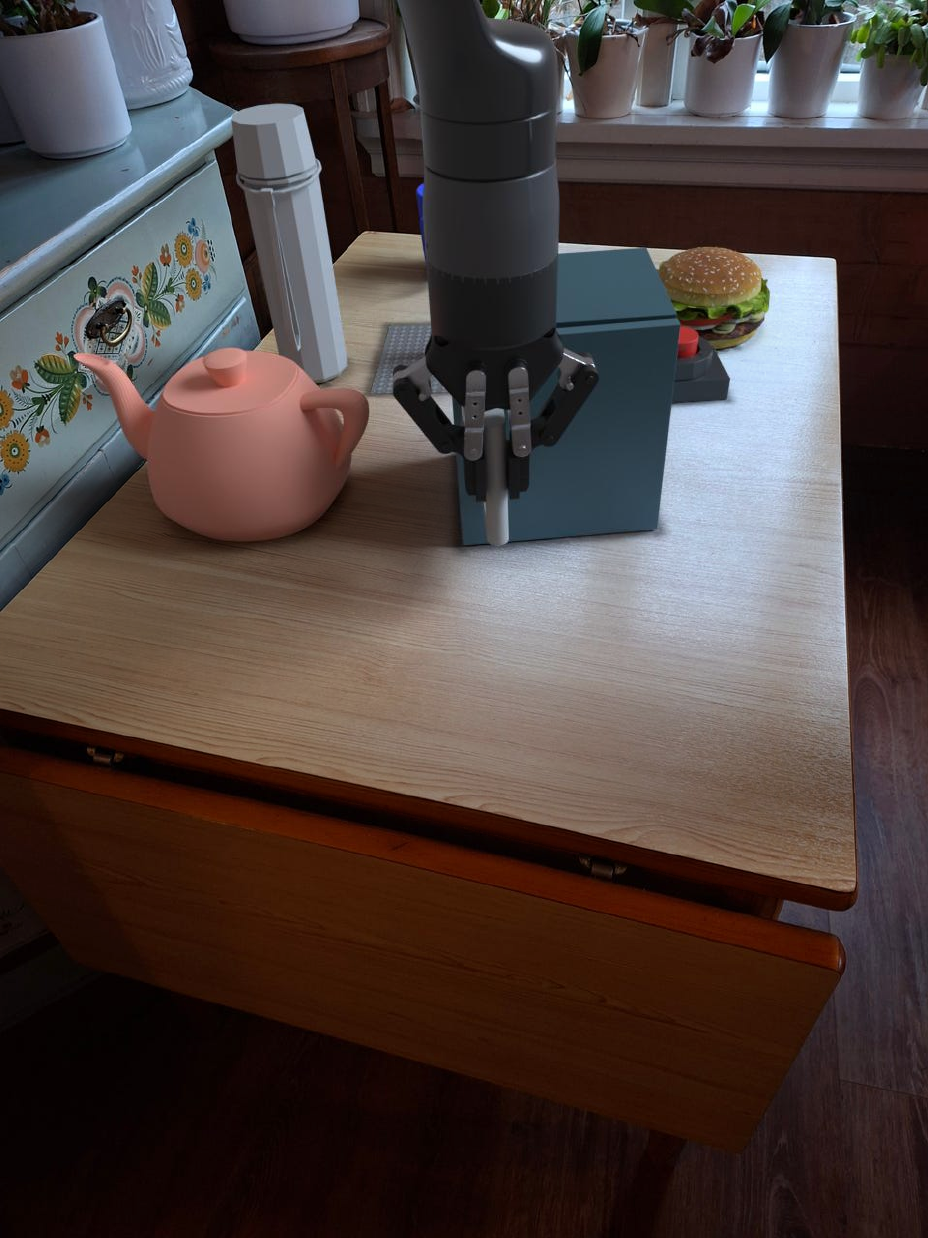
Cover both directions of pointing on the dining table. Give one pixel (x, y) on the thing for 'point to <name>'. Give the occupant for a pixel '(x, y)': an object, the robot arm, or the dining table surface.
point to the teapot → (240, 442)
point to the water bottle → (291, 235)
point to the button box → (700, 376)
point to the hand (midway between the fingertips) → (497, 493)
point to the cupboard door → (586, 445)
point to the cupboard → (609, 288)
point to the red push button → (687, 342)
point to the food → (716, 294)
